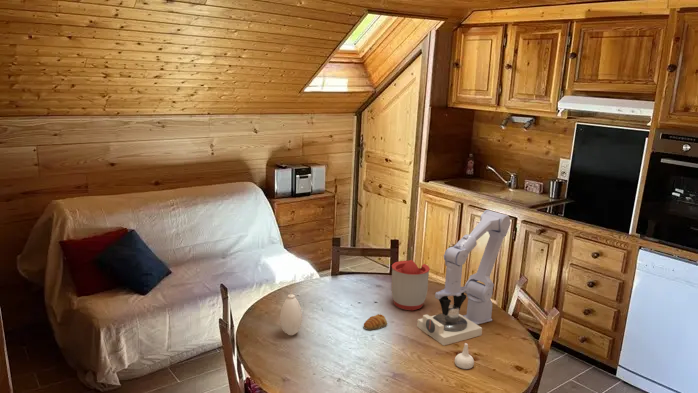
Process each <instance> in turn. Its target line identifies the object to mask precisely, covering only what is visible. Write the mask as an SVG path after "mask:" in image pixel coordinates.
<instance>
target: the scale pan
mask: <svg viewBox="0 0 698 393" xmlns="http://www.w3.org/2000/svg"><path fill="white" fill-rule="evenodd" d="M435 315H436V316H434V315H433V316H434V317H433V319H435V320H436V321H438V322H439V323H441V324H442V325H444V330H445V331H462V330H464V329H466V327H467V321H466V320H465V319H464V318H462V317H460V316H458V322H455V323H450V322H447V321H445V315H444V314H443V313H439V314H435Z"/></svg>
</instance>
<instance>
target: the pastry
mask: <svg viewBox="0 0 698 393" xmlns="http://www.w3.org/2000/svg"><path fill="white" fill-rule="evenodd" d="M387 325H388V321H387V319H386V316H384V315H383V314H381V313H380V314H379V313H377V314H376V315H372V316H370V317H369V318H368V319H367V320H365V322H364V323H363V329H366V330H368V331H373V330H380V329H382V328H385V327H386V326H387Z"/></svg>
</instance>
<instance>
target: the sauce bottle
mask: <svg viewBox="0 0 698 393" xmlns="http://www.w3.org/2000/svg"><path fill="white" fill-rule="evenodd" d="M302 323H303V313H302V308H301V305H300V302H299V301H298V299H297V298H296V295H295V294H293V289H292V288H290V294H288V295H287V298H286V299H285V300H284V302H283V304H282V306H281V310H280V315H279V324H280V328H281V330H282V331H283V333H285V334H286V333H287V334H288V336H294V335H296V334H297V333H298V332H299V331H300V329H301V326H302ZM287 334H286V335H287Z"/></svg>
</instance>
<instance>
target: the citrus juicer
mask: <svg viewBox="0 0 698 393" xmlns="http://www.w3.org/2000/svg"><path fill="white" fill-rule="evenodd" d="M391 270H392V271H391V286H390V287H391V289H390V290H391V295H392V300H393V303H394V305H395V307H397V308H399V309H402V310H405V311H415V310H419V309H421V308H422V307H423V305H424V304H425V300H426V298H427V296H428V295H427V294H428V287H429V276H430V274H429V273H430V266H429V265H427V264H425V263H423V264H422V265H421V267H419V266H418V265H417V264H416V262H415V261H414V260H412V259H409V260H400V261H396V262H394V263H392V265H391Z"/></svg>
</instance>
